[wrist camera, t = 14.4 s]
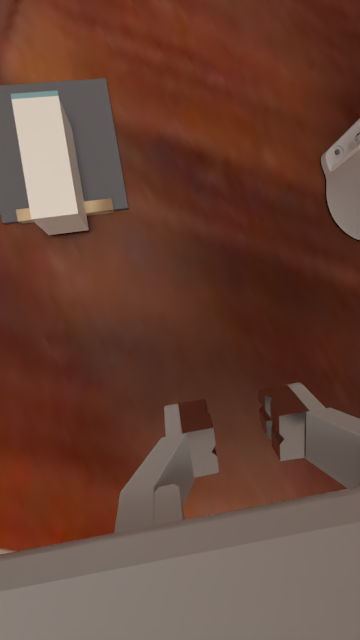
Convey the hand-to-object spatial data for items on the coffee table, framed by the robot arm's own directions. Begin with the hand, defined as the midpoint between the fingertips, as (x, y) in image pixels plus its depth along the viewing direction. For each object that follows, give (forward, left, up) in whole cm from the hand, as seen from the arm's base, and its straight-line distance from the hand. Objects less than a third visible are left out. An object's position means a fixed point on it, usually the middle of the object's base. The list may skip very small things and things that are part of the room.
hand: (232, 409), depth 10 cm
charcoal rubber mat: (-12, -27, -27) cm, 40 cm away
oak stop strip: (-6, -21, -27) cm, 35 cm away
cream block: (-4, -19, -24) cm, 31 cm away
